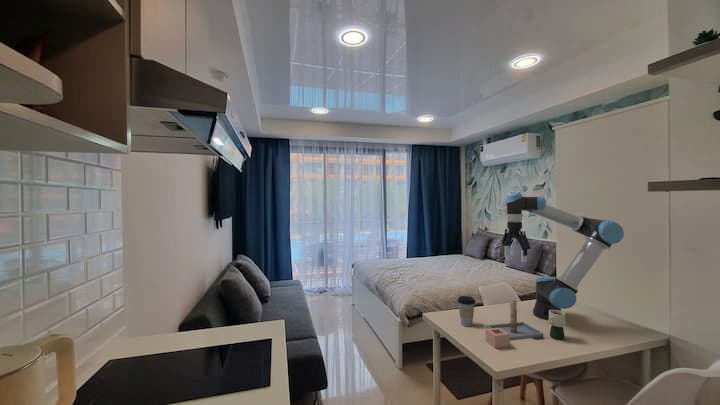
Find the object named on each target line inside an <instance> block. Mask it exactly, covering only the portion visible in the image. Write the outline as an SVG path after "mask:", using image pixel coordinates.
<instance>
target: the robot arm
mask: <svg viewBox="0 0 720 405" xmlns="http://www.w3.org/2000/svg"><path fill="white" fill-rule="evenodd" d="M505 202H506V203H505V204H506V227H507V228H505V229H504V233H503V237H502V239H501V245H503V246H504V248H503V249H504V258H509V257H511V256H510V254H511V252H510V250H511V249H510V243H511V242H512V240H513V239H515V240H517V242H518V244H519V246H520V247H521V249H520V250H521V255H520V256H521V263H527V262H528V250H530V249H531V246H530V242H529V240H528V238H527V235H526V230H523V231H522V230H521V229H523V222H522V221H523V211H526V212H529V213H531V214H534V215H537V216H539V217H542V218H544V219H547V220H549V221H552V222H554V223H558V224H559V225H563V226H565V227H568V228H570V229H571V231H573V232H575V233H578V234H580V235H582V236H585V243H584V244H583V245H582V247H580V250H579V251H578V252H577V254H575V256H574V258H572V260H571V262H570V264H569V265H568V266H567V267H566V269H565V271H564V272H563V274H562V275H561V276H559V277H558V276H556V277H555V276H548V275H547V276H545V275H544V276H543V275H541V276H537V277H536V279H535V304H534V306H533V309H532V315H534V316H535V317H537V318H540V319H544V320H547V321H549V310H559V311H562V310H565V309H570V308H572V307H574V305H575V304H576V303H577V296H576V295H577V294H578V292H579V289H578V288H579V287H578V286H579V285H580V284H581V282H582V281H583V279H584V278H585V276H586V275H587V274H588V273H589V271H590V270H591V268H592V267H593V266H594V265H595V263H596V261H597V260H598V258H599V257H600V256H601V255H602V253H603V252H604V251H605V250H610V249H611V247H612V246H613V245H615V244H618V243H620V242H621V241H622V240H623V238H624V235H625V233H624V229H623V227H622V226H621V224H620V223H618V222H616V221H612V220H608V219H606V220H605V219H600V218H599V219H597V218H589V217H586V216H583V215H578V216H577V215H575V214H572V213H569V212H567V211H565V210H562V209H560V208H556V207H554V206H551V205H548V204H547V201H546V199H545V196H544V197H543V196H522V194H521V193H508V194H507V195H506V201H505Z"/></svg>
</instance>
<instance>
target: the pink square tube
mask: <svg viewBox="0 0 720 405" xmlns="http://www.w3.org/2000/svg"><path fill="white" fill-rule="evenodd" d="M485 342H486V343H488V344H489V345H490V346H491V347H493V349H494V350H495V349H503V348H510V347H511V345H510V343H511V341H510V334H508V333H507V332H506V331H504V330H503V329H501V328H490V329H487V328H485Z"/></svg>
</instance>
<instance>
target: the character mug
mask: <svg viewBox="0 0 720 405" xmlns="http://www.w3.org/2000/svg"><path fill="white" fill-rule="evenodd" d="M548 324H550V325H551V326H550V330H549V336H550V337H551V338H553V339H557V340H564V339H565V338H566V337H565V331H564V330H565V329H564V327H566V325H567V323H566V312H564V311H562V310H561V311H559V310H549V320H548Z"/></svg>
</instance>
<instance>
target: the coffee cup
mask: <svg viewBox="0 0 720 405" xmlns="http://www.w3.org/2000/svg"><path fill="white" fill-rule="evenodd" d="M457 302H458V311H459V317H460V325H462V327H467V328H470V327H472V326H473V322H474V321H473V319H474V314H475V313H474V312H475V304H476V300H475V298H474V297H472V296H469V295H461V296H459V297H458V298H457Z"/></svg>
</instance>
